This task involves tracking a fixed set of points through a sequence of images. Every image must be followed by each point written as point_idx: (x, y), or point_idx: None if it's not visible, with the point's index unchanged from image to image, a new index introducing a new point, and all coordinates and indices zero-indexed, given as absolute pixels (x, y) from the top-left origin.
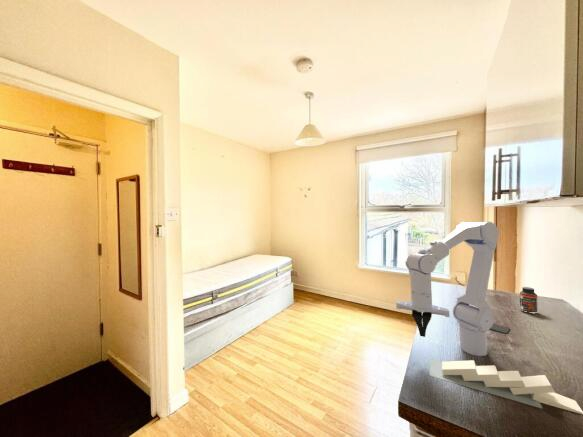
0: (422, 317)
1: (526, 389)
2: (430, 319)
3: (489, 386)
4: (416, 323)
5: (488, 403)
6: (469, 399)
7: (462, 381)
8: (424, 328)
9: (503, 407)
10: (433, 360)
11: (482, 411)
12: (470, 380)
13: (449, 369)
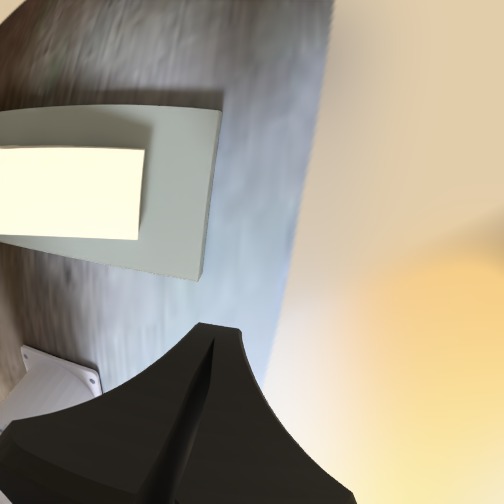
0: (128, 482)
1: None
2: (12, 425)
3: (8, 145)
4: (273, 412)
5: (40, 74)
6: (87, 57)
7: (80, 135)
8: (174, 365)
9: (13, 82)
10: (187, 275)
11: (69, 19)
12: (50, 145)
13: (106, 149)
